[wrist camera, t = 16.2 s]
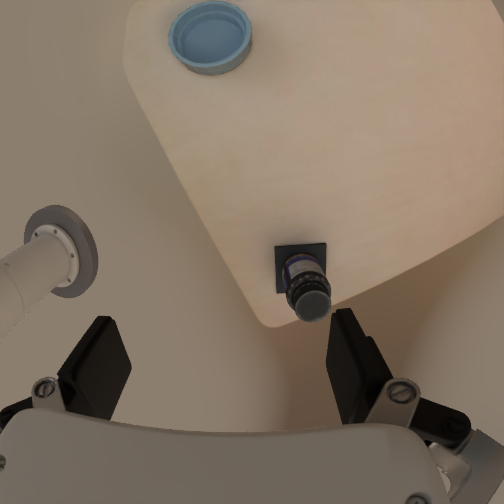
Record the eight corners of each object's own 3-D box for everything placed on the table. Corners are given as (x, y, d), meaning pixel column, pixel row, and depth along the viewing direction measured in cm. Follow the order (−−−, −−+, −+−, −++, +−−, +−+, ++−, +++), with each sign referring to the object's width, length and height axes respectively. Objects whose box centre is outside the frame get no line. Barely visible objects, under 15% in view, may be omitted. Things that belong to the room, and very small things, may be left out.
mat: (276, 291, 47) (276, 293, 46) (274, 246, 44) (274, 247, 43) (324, 288, 46) (325, 289, 46) (325, 242, 43) (326, 244, 43)
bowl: (179, 81, 35) (169, 73, 30) (176, 21, 31) (168, 8, 26) (254, 71, 34) (254, 62, 29) (248, 11, 30) (247, -3, 25)
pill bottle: (308, 291, 46) (322, 332, 36) (275, 279, 45) (280, 319, 35) (326, 259, 44) (345, 294, 34) (291, 245, 43) (302, 278, 33)
